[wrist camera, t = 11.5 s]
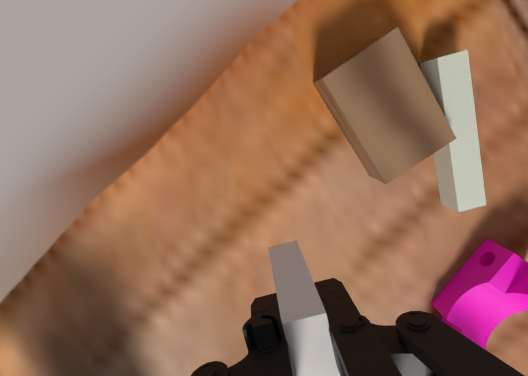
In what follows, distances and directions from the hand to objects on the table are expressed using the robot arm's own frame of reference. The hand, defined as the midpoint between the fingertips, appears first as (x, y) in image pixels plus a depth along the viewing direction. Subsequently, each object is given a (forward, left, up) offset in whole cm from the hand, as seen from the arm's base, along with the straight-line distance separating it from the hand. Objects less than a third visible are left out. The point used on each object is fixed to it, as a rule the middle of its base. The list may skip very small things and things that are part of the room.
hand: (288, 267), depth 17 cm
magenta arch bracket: (+21, -20, -21) cm, 36 cm away
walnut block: (+13, +6, -21) cm, 25 cm away
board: (+20, +1, -21) cm, 29 cm away
